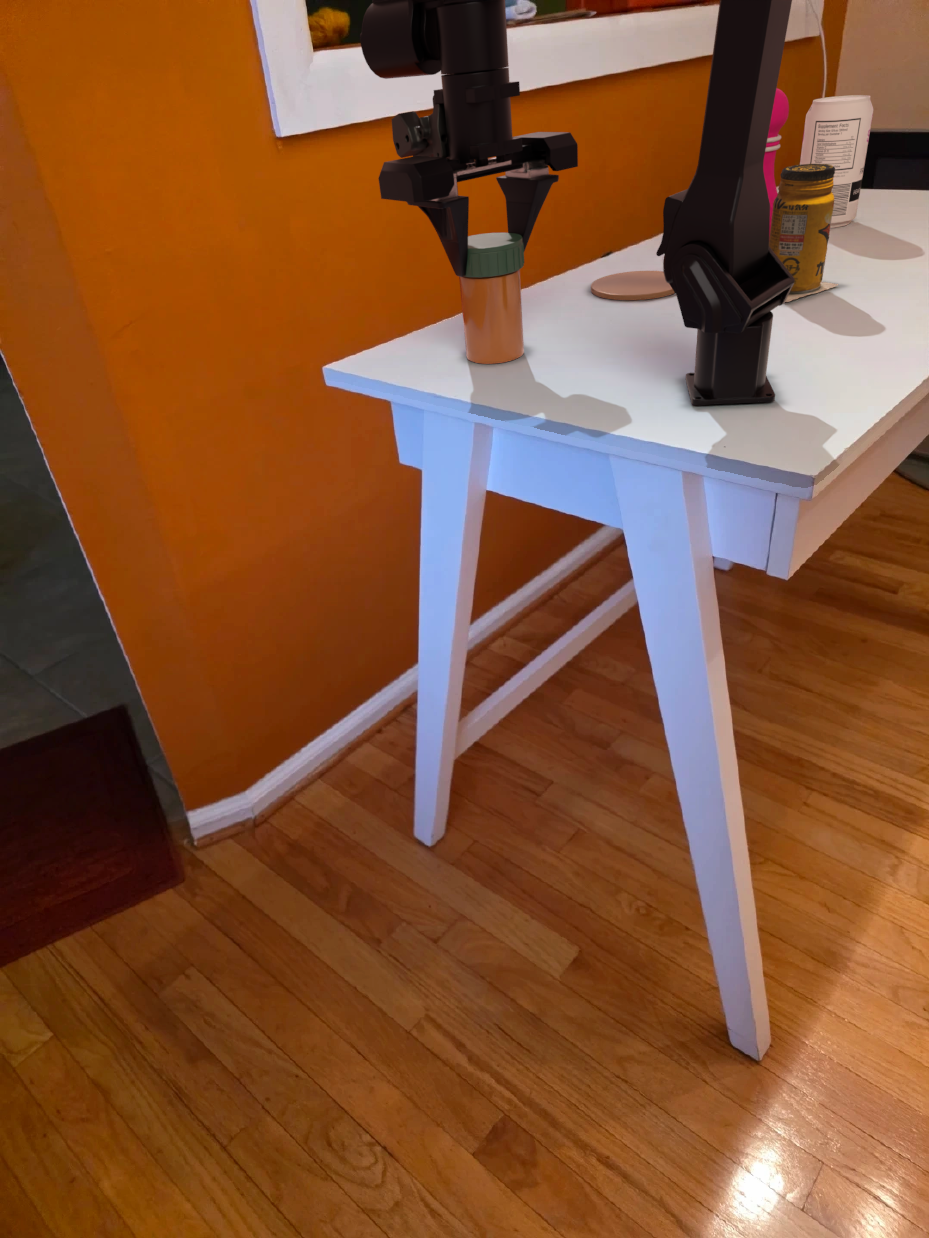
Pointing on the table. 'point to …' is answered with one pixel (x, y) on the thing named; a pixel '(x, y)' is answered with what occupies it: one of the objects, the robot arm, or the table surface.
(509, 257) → the jam lid
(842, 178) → the supplement can
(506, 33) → the robot arm
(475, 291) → the jam jar
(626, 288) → the coaster
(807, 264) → the condiment
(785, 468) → the table surface
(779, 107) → the pink bowling pin
